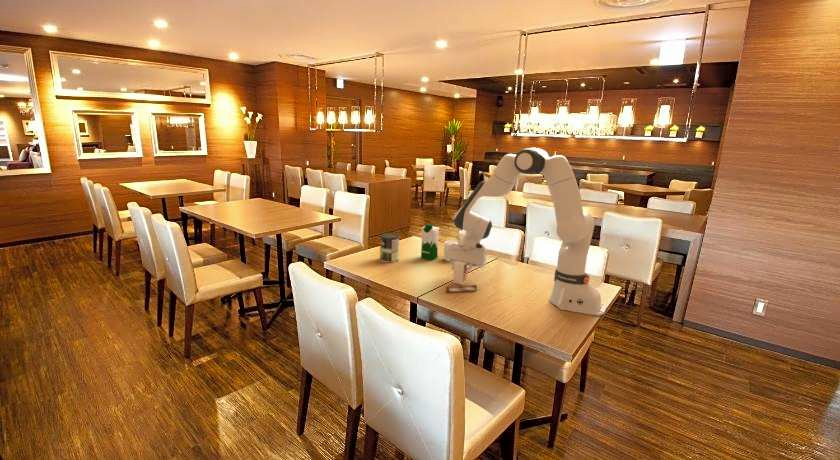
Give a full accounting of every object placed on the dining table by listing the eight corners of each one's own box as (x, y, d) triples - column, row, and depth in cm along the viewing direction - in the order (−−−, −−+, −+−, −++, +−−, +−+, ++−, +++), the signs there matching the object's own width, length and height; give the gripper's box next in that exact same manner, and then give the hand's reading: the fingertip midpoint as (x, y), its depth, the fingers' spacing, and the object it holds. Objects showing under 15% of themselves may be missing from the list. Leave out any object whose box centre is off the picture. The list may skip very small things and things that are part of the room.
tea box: (452, 282, 184) (453, 262, 182) (456, 280, 187) (457, 260, 185) (462, 284, 181) (463, 264, 179) (466, 282, 185) (467, 262, 182)
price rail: (475, 289, 176) (475, 284, 176) (476, 291, 175) (476, 286, 174) (446, 291, 173) (446, 286, 172) (447, 292, 171) (447, 287, 171)
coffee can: (382, 263, 208) (382, 238, 205) (378, 257, 218) (378, 233, 214) (400, 262, 211) (401, 237, 208) (396, 256, 221) (396, 232, 218)
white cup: (456, 262, 215) (457, 244, 213) (442, 260, 216) (443, 243, 214) (458, 258, 222) (459, 241, 220) (444, 256, 224) (445, 240, 222)
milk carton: (418, 258, 219) (419, 224, 215) (426, 254, 227) (428, 221, 222) (431, 261, 215) (433, 226, 210) (439, 257, 222) (441, 223, 218)
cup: (465, 258, 222) (466, 235, 219) (453, 252, 232) (454, 230, 229) (482, 256, 228) (483, 233, 225) (470, 250, 238) (471, 229, 235)
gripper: (448, 239, 191) (438, 263, 185) (487, 246, 181) (477, 272, 175) (452, 246, 196) (442, 269, 190) (490, 253, 186) (480, 278, 180)
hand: (459, 271), depth 183 cm, fingers closed on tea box, 5 cm apart
